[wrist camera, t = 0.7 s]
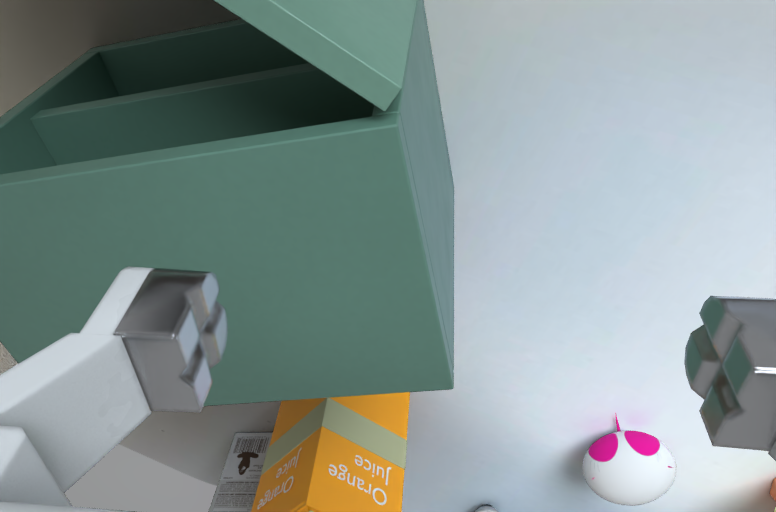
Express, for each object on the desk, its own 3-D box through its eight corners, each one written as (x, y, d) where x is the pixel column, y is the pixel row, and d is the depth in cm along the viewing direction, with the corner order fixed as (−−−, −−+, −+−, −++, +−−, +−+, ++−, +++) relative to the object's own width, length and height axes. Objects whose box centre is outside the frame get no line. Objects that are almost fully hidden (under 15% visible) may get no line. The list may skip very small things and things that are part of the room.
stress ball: (652, 391, 56) (668, 414, 49) (672, 476, 56) (691, 511, 49) (567, 405, 58) (572, 429, 51) (587, 488, 58) (595, 523, 51)
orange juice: (282, 389, 55) (214, 635, 39) (338, 338, 50) (286, 593, 35) (353, 427, 58) (315, 673, 42) (413, 381, 53) (395, 638, 37)
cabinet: (91, 47, 37) (-115, 202, 24) (420, -17, 33) (397, 124, 20) (178, 224, 45) (60, 416, 31) (454, 188, 41) (453, 390, 27)
